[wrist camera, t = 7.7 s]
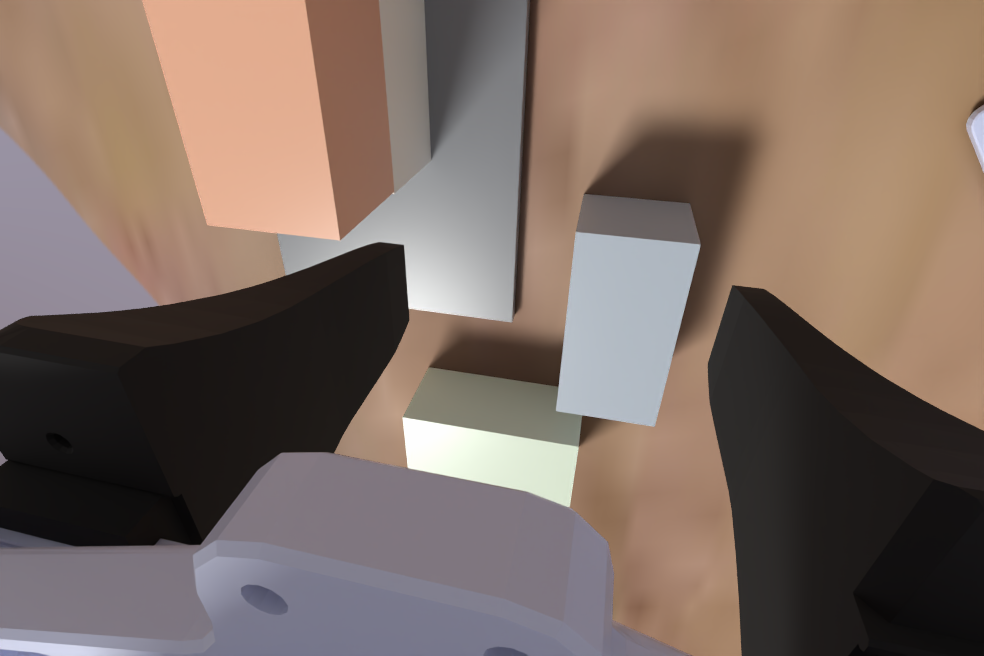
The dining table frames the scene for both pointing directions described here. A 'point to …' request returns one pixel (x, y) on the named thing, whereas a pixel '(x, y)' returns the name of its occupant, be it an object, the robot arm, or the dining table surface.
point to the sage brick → (493, 433)
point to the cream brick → (406, 86)
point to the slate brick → (625, 306)
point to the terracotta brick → (279, 109)
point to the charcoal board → (456, 169)
